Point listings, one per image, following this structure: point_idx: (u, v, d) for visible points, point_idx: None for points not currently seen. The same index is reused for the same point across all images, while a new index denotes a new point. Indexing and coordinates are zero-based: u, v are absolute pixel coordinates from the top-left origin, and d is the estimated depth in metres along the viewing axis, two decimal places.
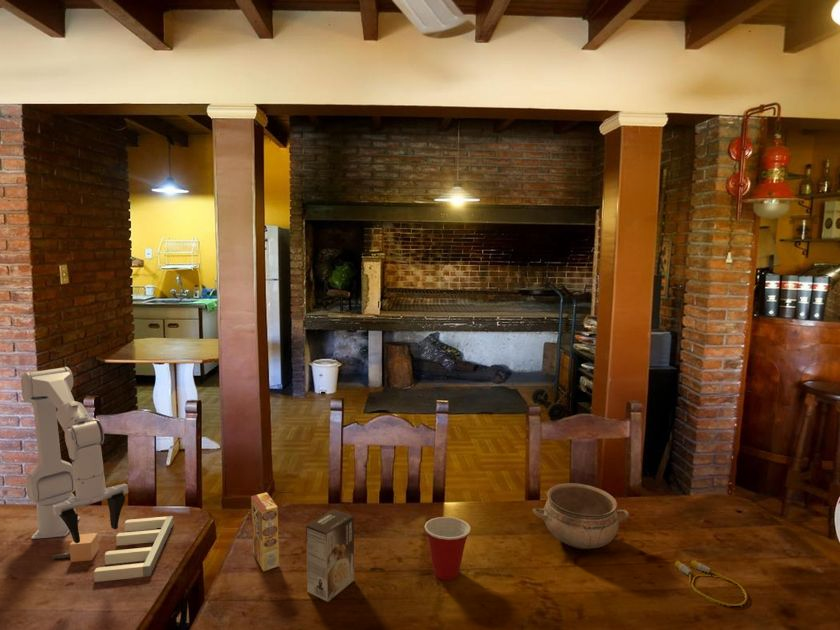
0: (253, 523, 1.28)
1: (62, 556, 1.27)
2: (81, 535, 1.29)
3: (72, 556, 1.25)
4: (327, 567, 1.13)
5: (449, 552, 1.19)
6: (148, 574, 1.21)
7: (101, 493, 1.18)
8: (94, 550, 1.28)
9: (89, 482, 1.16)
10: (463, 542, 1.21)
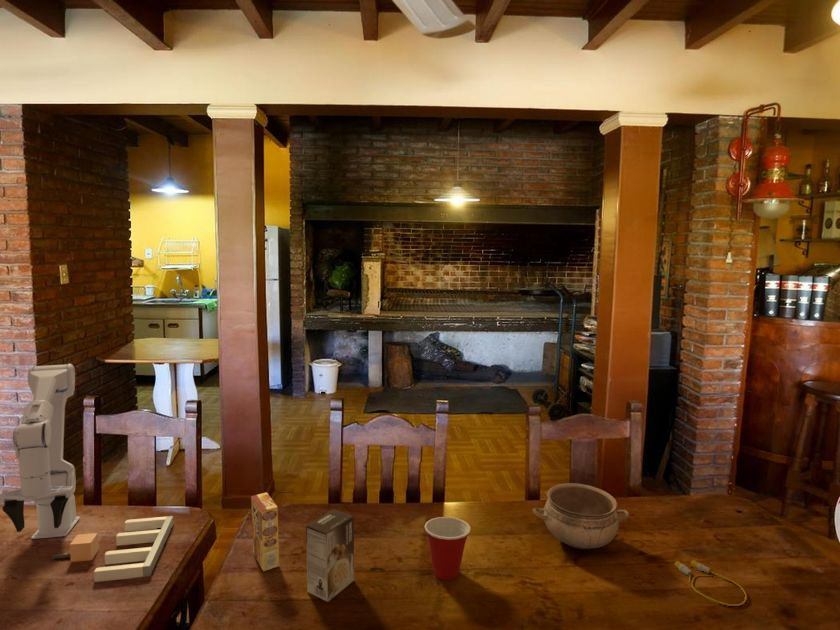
0: (253, 523, 1.28)
1: (62, 556, 1.27)
2: (81, 535, 1.29)
3: (72, 556, 1.25)
4: (327, 567, 1.13)
5: (449, 552, 1.19)
6: (148, 574, 1.21)
7: (37, 494, 1.21)
8: (94, 550, 1.28)
9: (25, 482, 1.20)
10: (463, 542, 1.21)
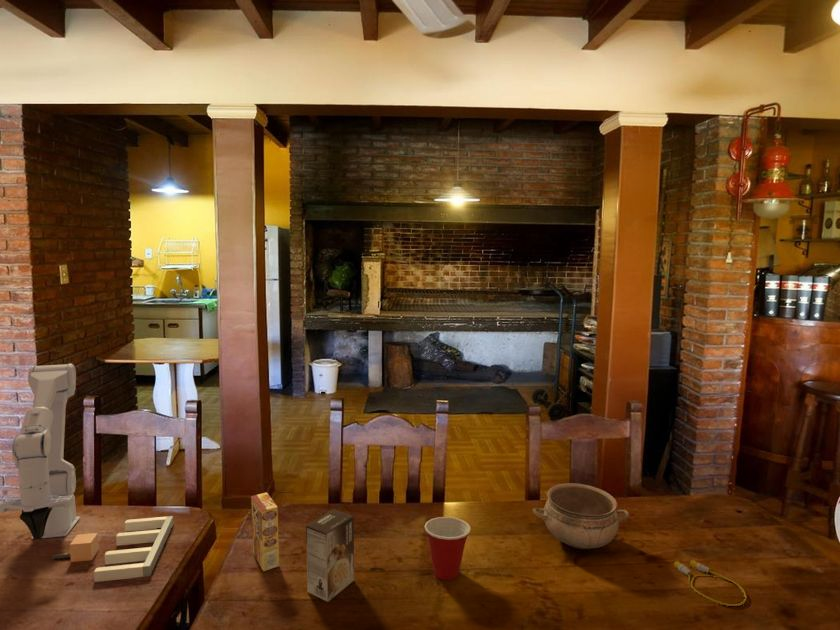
0: (253, 523, 1.28)
1: (62, 556, 1.27)
2: (81, 535, 1.29)
3: (72, 556, 1.25)
4: (327, 567, 1.13)
5: (449, 552, 1.19)
6: (148, 574, 1.21)
7: (36, 504, 1.22)
8: (94, 550, 1.28)
9: (25, 492, 1.21)
10: (463, 542, 1.21)
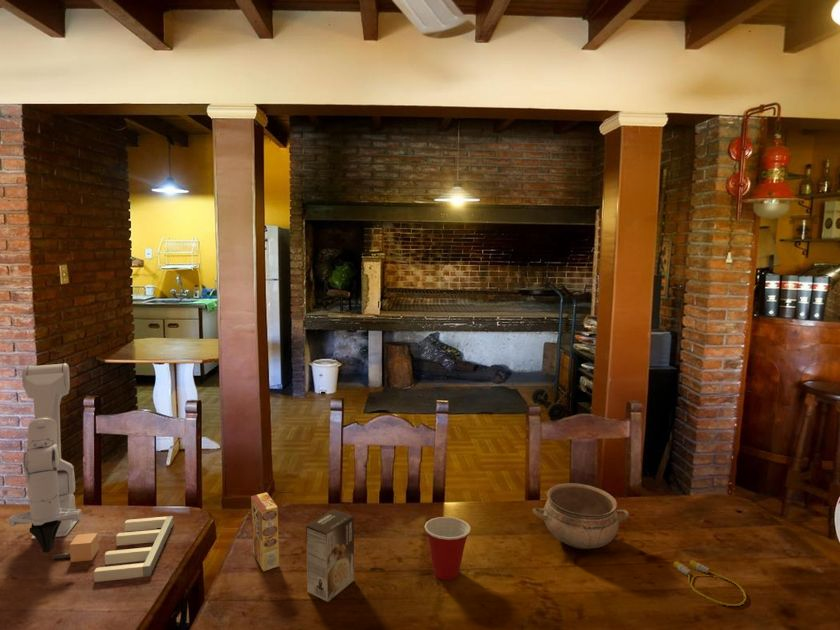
0: (253, 523, 1.28)
1: (62, 556, 1.27)
2: (81, 535, 1.29)
3: (72, 556, 1.25)
4: (327, 567, 1.13)
5: (449, 552, 1.19)
6: (148, 574, 1.21)
7: (46, 517, 1.23)
8: (94, 550, 1.28)
9: (34, 505, 1.22)
10: (463, 542, 1.21)
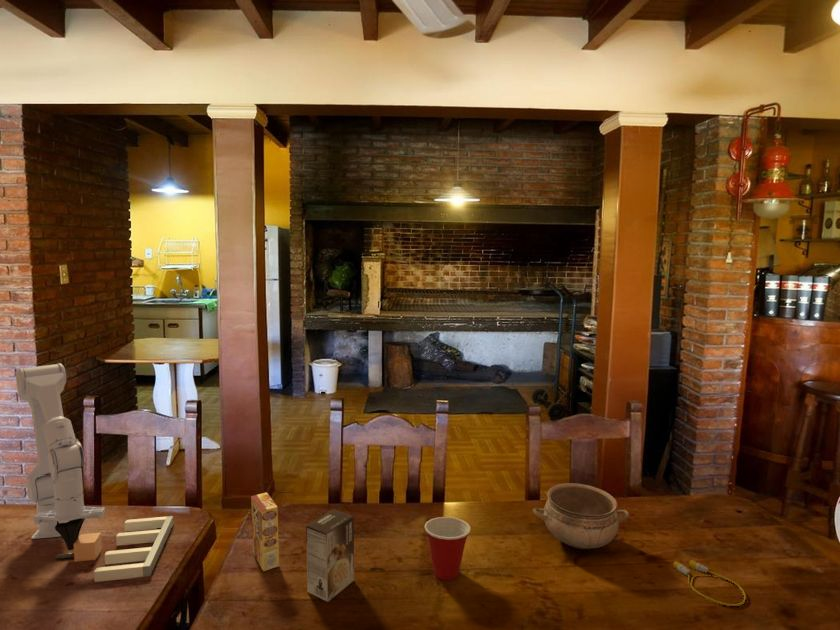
0: (253, 523, 1.28)
1: (66, 556, 1.27)
2: (85, 535, 1.29)
3: (76, 556, 1.26)
4: (327, 567, 1.13)
5: (449, 552, 1.19)
6: (148, 574, 1.21)
7: (71, 515, 1.24)
8: (98, 550, 1.28)
9: (60, 503, 1.23)
10: (463, 542, 1.21)
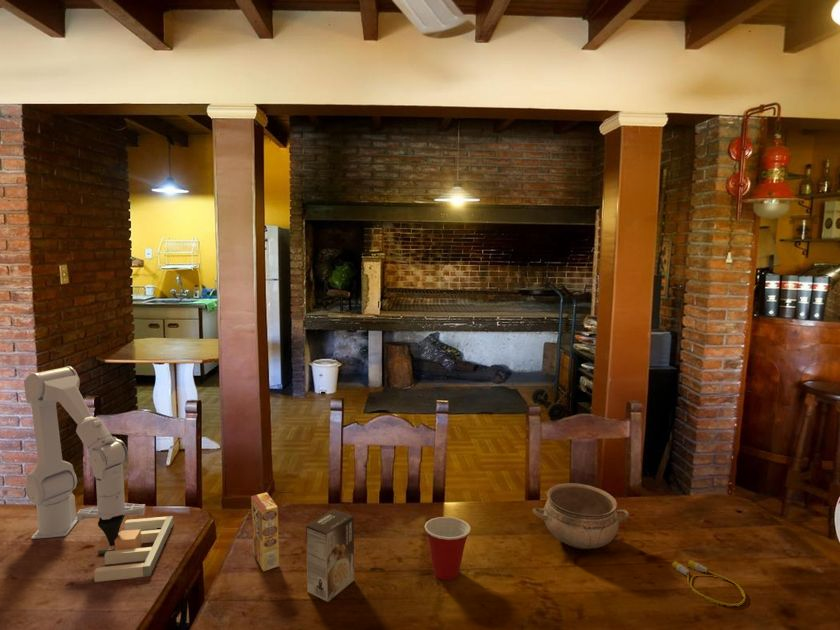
0: (253, 523, 1.28)
1: None
2: (125, 531, 1.31)
3: None
4: (327, 567, 1.13)
5: (449, 552, 1.19)
6: (148, 574, 1.21)
7: (113, 512, 1.26)
8: (137, 546, 1.30)
9: (102, 500, 1.25)
10: (463, 542, 1.21)
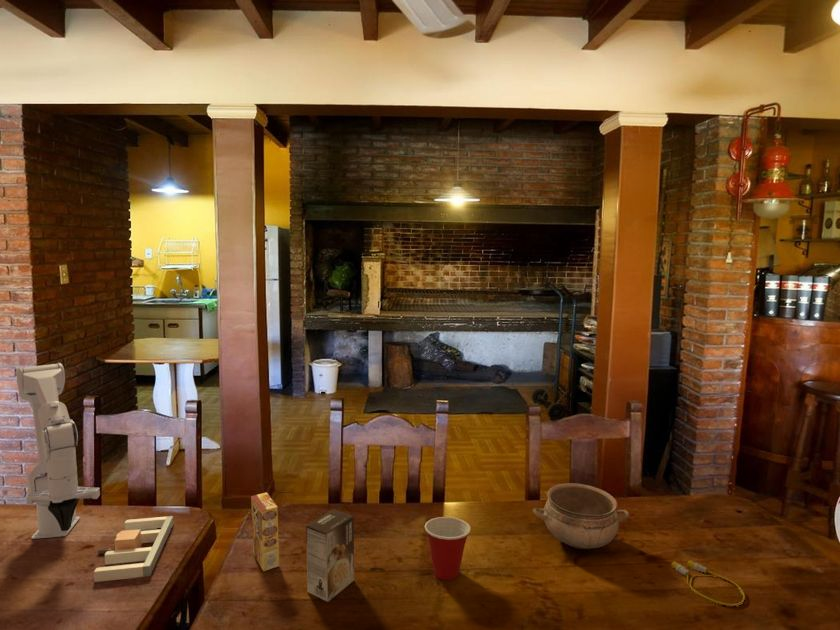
0: (253, 523, 1.28)
1: None
2: (125, 531, 1.31)
3: None
4: (327, 567, 1.13)
5: (449, 552, 1.19)
6: (148, 574, 1.21)
7: (65, 495, 1.21)
8: (137, 546, 1.30)
9: (53, 483, 1.20)
10: (463, 542, 1.21)
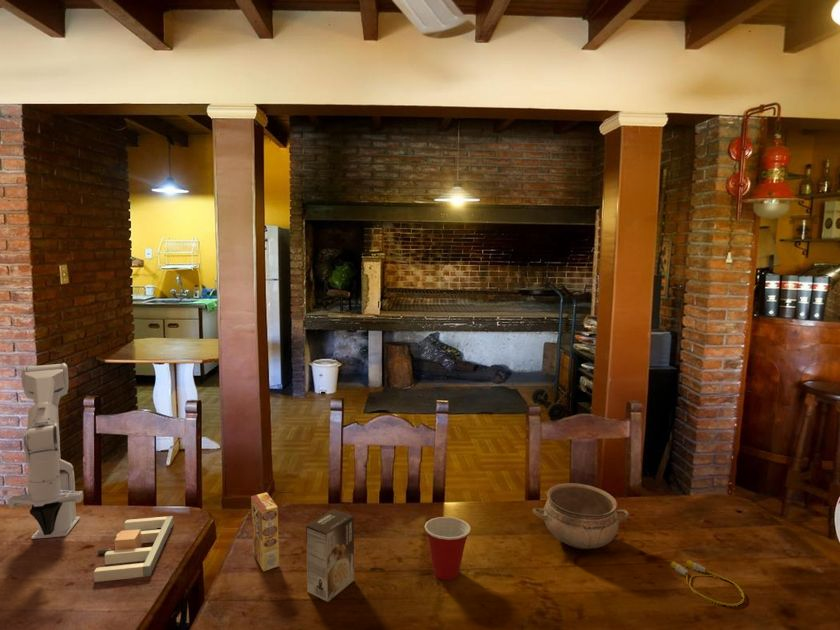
0: (253, 523, 1.28)
1: None
2: (125, 531, 1.31)
3: None
4: (327, 567, 1.13)
5: (449, 552, 1.19)
6: (148, 574, 1.21)
7: (47, 498, 1.19)
8: (137, 546, 1.30)
9: (35, 486, 1.18)
10: (463, 542, 1.21)
